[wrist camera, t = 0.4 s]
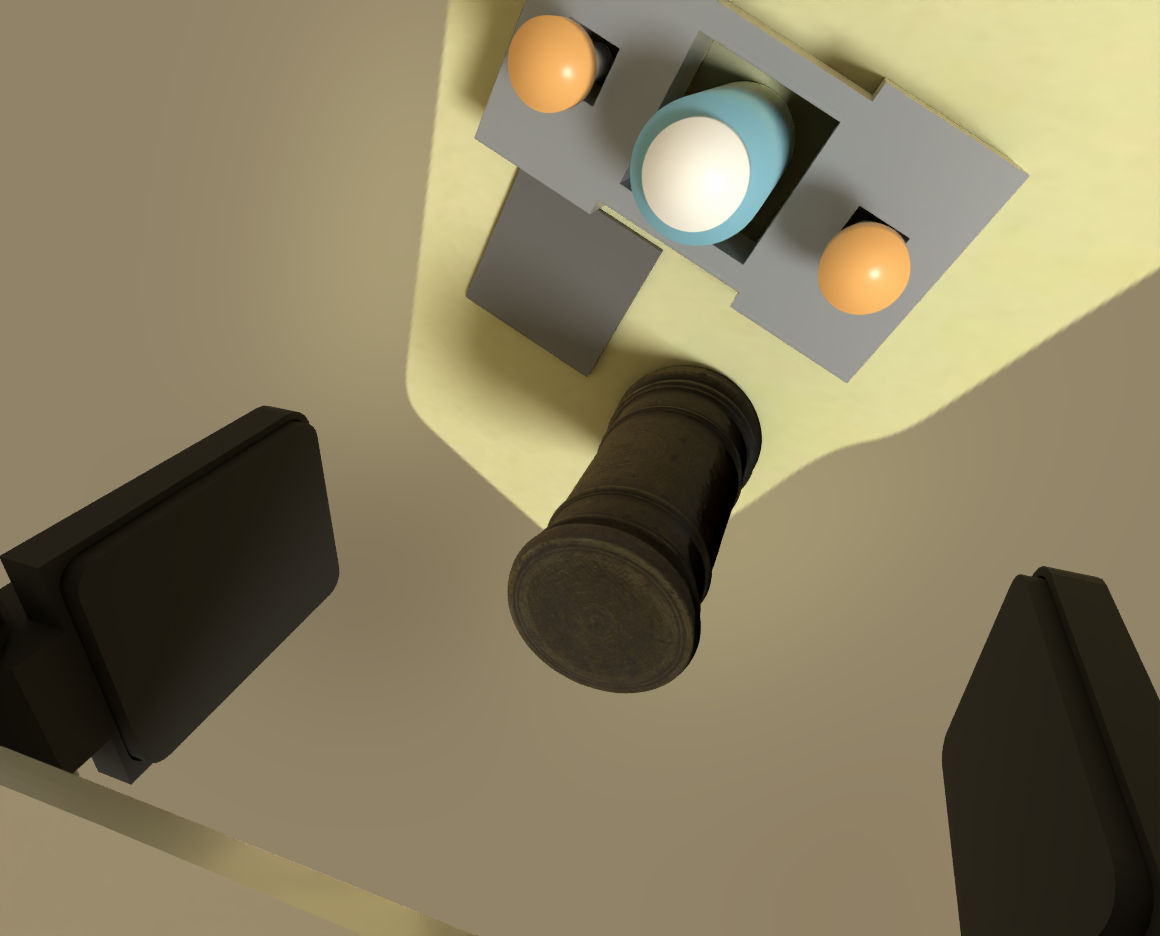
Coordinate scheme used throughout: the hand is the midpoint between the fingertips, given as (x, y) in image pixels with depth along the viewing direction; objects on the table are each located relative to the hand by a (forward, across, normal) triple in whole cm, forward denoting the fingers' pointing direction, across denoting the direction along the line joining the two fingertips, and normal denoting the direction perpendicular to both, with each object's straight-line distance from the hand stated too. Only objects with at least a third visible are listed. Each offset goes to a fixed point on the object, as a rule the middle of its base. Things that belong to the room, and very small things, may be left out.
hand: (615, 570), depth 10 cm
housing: (+32, +3, -2) cm, 32 cm away
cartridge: (+32, +3, -2) cm, 32 cm away
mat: (+32, +13, +5) cm, 35 cm away
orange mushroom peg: (+29, -4, +1) cm, 30 cm away
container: (+32, +4, +14) cm, 36 cm away
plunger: (+29, +10, -6) cm, 31 cm away
